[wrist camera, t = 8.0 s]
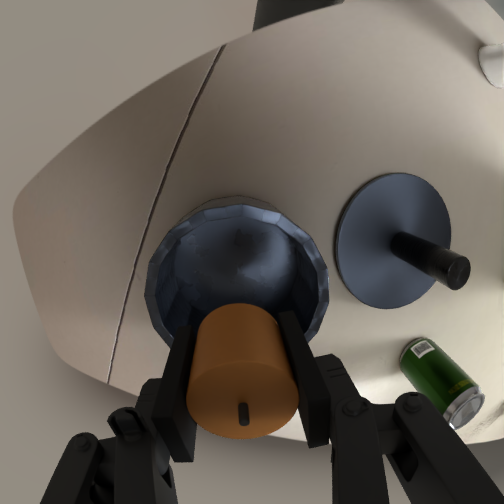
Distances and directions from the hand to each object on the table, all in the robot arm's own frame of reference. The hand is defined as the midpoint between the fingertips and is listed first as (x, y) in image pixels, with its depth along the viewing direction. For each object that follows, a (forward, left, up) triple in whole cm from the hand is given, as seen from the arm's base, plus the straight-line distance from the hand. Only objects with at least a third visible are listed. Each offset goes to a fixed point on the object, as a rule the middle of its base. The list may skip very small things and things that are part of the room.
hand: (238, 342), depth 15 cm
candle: (0, 0, 0) cm, 0 cm away
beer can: (+15, +20, -13) cm, 28 cm away
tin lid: (0, +16, -12) cm, 20 cm away
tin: (0, 0, -13) cm, 13 cm away
